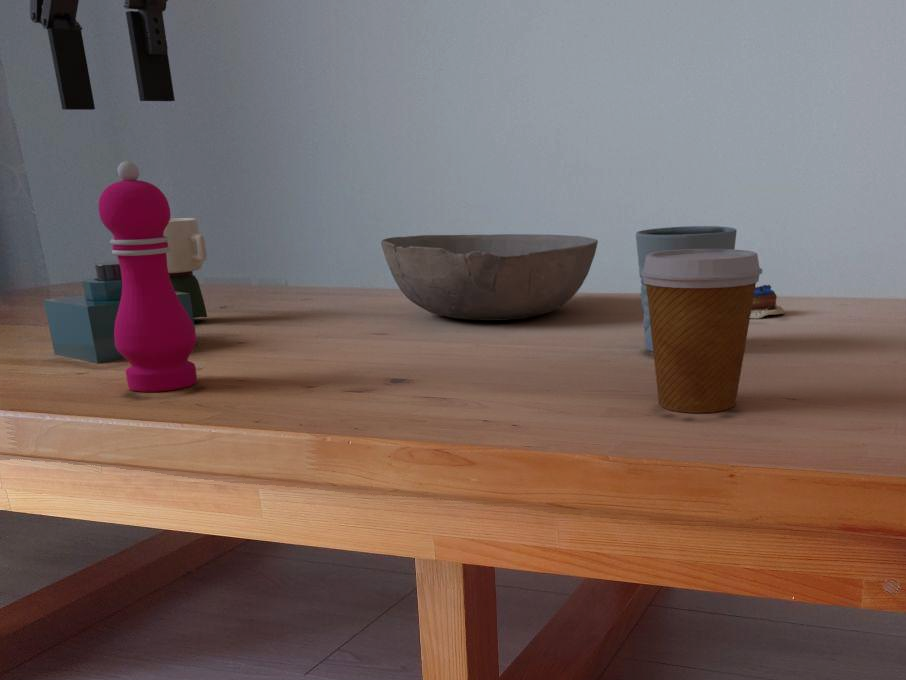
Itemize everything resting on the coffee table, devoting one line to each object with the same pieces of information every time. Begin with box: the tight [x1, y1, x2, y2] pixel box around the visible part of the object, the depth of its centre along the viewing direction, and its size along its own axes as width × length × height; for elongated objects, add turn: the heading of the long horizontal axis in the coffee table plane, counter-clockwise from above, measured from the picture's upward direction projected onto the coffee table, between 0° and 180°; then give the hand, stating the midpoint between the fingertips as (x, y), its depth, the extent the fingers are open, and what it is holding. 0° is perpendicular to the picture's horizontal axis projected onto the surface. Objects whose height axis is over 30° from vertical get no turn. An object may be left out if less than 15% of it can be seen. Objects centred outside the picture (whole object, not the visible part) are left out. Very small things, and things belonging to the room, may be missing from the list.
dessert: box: [750, 284, 785, 319], centre depth 127 cm, size 8×7×6 cm
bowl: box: [380, 233, 599, 321], centre depth 131 cm, size 28×28×10 cm
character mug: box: [163, 217, 208, 319], centre depth 131 cm, size 11×7×13 cm, turn 65°
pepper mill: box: [97, 160, 198, 393], centre depth 92 cm, size 7×7×20 cm
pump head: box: [93, 261, 122, 281], centre depth 111 cm, size 4×4×2 cm
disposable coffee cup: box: [640, 249, 764, 414], centre depth 81 cm, size 10×10×12 cm
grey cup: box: [635, 225, 738, 352], centre depth 105 cm, size 10×10×12 cm
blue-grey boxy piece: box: [43, 276, 198, 365], centre depth 113 cm, size 12×10×8 cm
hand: (116, 106), depth 87 cm, fingers open, 13 cm apart
